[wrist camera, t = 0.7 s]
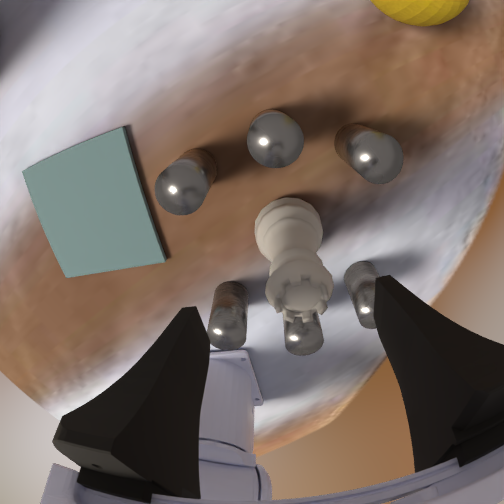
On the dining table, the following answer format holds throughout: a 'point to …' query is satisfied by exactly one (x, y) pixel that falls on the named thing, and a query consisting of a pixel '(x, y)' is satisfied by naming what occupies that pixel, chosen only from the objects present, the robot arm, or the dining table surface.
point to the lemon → (421, 10)
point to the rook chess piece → (293, 258)
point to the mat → (94, 207)
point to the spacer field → (276, 156)
